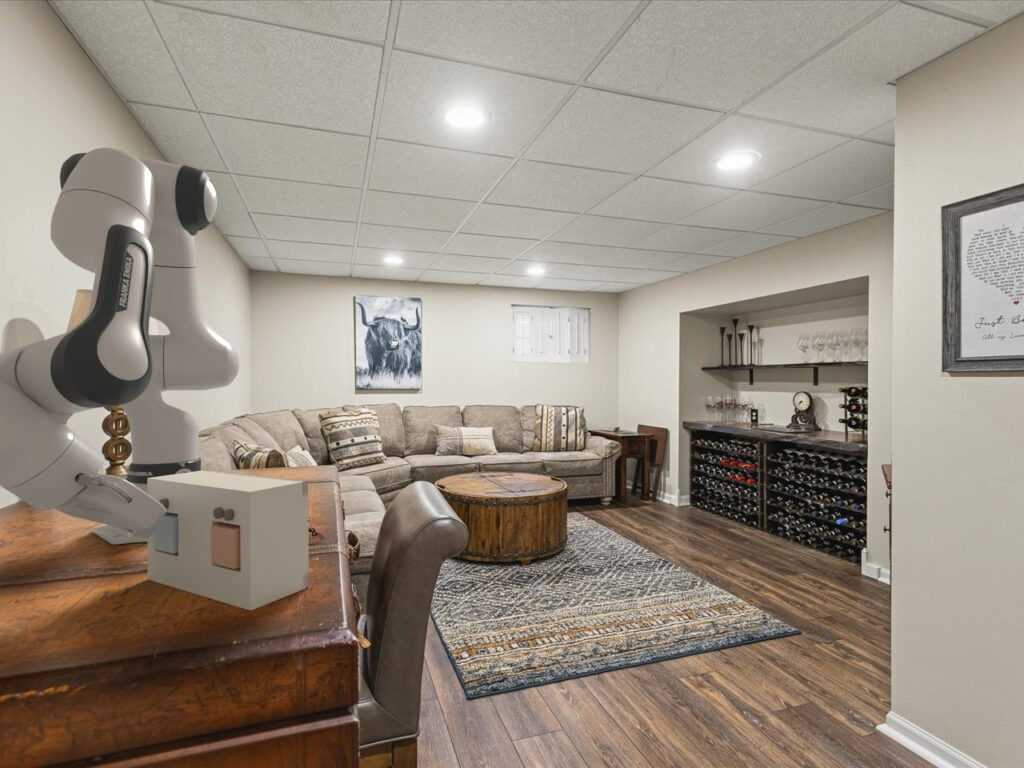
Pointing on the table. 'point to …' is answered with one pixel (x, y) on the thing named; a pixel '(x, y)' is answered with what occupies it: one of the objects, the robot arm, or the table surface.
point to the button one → (167, 533)
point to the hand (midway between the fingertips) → (146, 533)
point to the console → (263, 535)
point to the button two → (225, 545)
